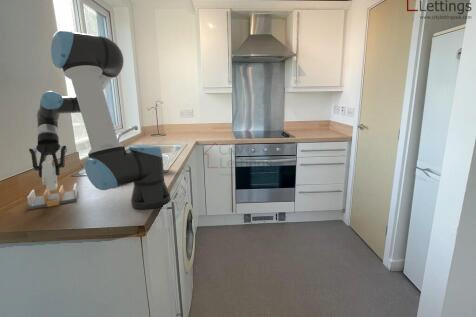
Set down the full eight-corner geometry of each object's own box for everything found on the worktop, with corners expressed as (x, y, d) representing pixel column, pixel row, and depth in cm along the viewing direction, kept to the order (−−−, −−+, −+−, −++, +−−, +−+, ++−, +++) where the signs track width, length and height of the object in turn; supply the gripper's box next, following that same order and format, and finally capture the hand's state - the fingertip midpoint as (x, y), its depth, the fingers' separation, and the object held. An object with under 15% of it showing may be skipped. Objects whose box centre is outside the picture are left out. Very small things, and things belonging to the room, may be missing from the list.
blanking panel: (56, 189, 106) (50, 162, 104) (47, 191, 105) (41, 163, 102) (58, 185, 112) (52, 159, 109) (49, 186, 110) (44, 160, 108)
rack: (76, 201, 107) (74, 190, 106) (28, 210, 100) (25, 198, 99) (78, 192, 118) (76, 182, 117) (35, 199, 111) (32, 189, 110)
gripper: (71, 140, 121) (74, 183, 111) (28, 143, 114) (27, 190, 103) (68, 130, 115) (71, 174, 105) (22, 133, 108) (21, 181, 98)
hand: (49, 182), depth 104 cm, fingers closed on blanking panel, 3 cm apart
